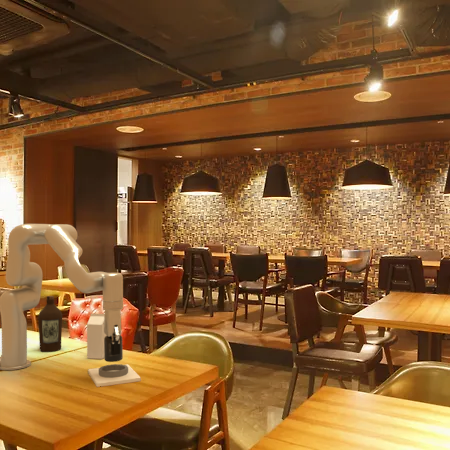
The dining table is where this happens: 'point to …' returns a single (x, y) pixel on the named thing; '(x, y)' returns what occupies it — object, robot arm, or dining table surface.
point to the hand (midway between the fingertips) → (113, 351)
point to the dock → (113, 375)
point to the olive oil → (50, 327)
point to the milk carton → (95, 336)
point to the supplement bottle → (107, 350)
